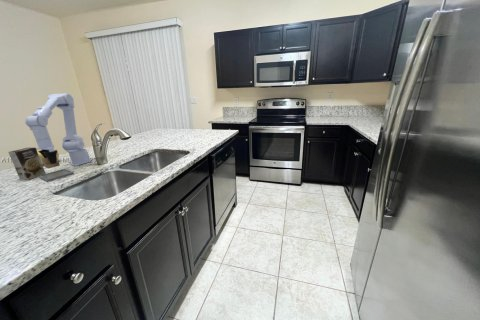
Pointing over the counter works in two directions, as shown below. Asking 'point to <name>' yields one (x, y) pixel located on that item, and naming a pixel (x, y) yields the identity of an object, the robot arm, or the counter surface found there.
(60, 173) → the slate gray tray
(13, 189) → the counter surface
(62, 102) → the robot arm
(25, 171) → the coffee box
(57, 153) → the tan lumpy round piece
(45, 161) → the letter cube
